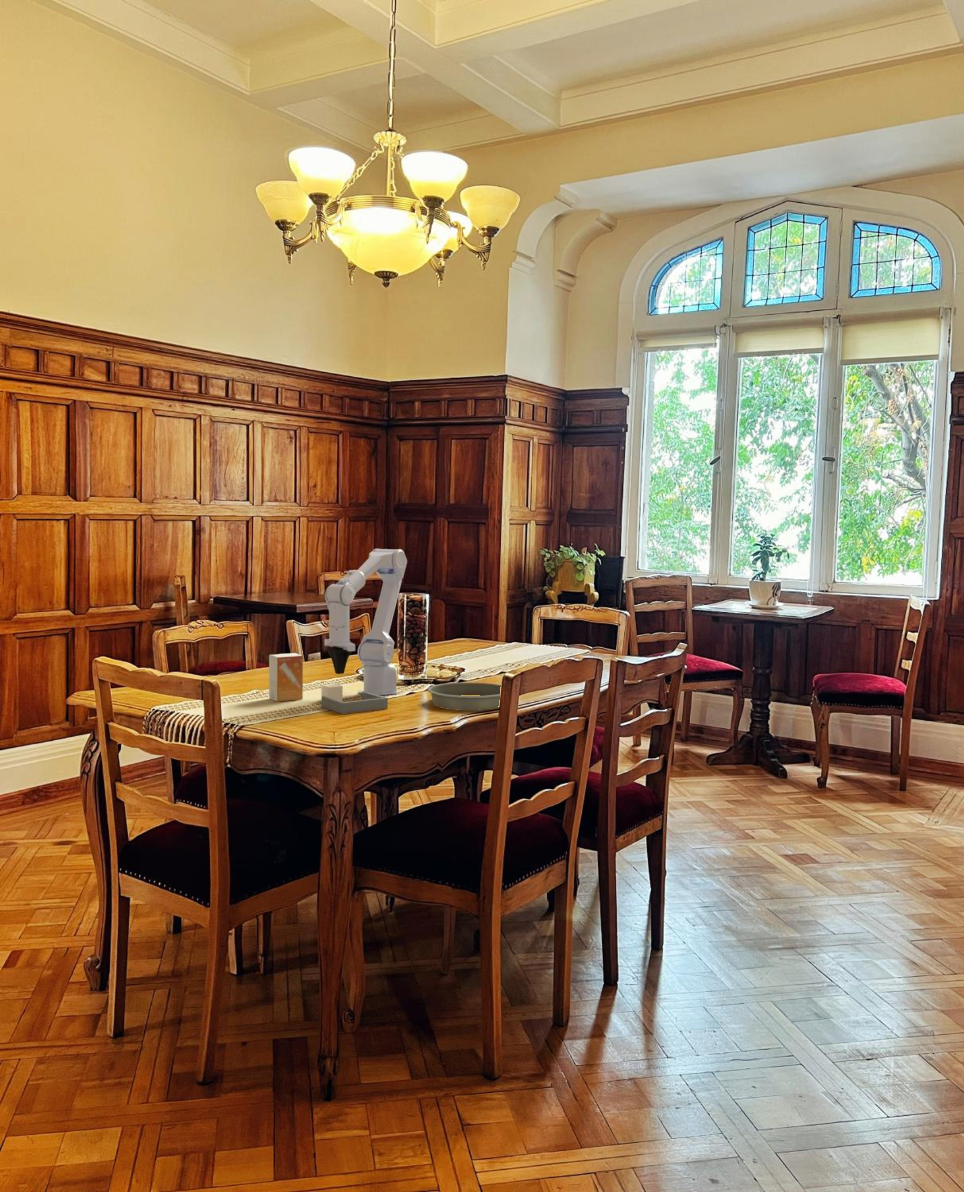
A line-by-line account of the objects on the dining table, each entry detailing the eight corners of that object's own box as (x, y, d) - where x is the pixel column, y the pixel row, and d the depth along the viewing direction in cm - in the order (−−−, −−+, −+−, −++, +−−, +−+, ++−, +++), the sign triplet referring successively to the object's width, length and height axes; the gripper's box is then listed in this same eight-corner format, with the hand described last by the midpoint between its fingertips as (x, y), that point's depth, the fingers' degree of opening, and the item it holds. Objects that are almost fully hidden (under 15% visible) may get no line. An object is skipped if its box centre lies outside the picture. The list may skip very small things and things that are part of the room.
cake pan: (530, 705, 290) (531, 689, 289) (467, 716, 273) (467, 699, 272) (472, 693, 307) (472, 678, 307) (409, 703, 291) (410, 687, 290)
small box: (277, 702, 289) (276, 657, 288) (268, 698, 294) (268, 654, 293) (303, 699, 294) (303, 655, 293) (294, 696, 299) (294, 652, 298)
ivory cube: (335, 698, 295) (335, 683, 295) (342, 701, 292) (342, 686, 291) (321, 700, 293) (321, 685, 292) (328, 702, 289) (328, 687, 289)
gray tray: (365, 701, 291) (365, 691, 291) (387, 708, 281) (387, 697, 280) (321, 706, 283) (321, 696, 282) (343, 714, 272) (342, 703, 272)
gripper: (314, 624, 291) (315, 671, 292) (339, 629, 279) (339, 678, 280) (336, 623, 295) (336, 669, 296) (361, 628, 283) (361, 676, 284)
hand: (339, 673), depth 288 cm, fingers closed
